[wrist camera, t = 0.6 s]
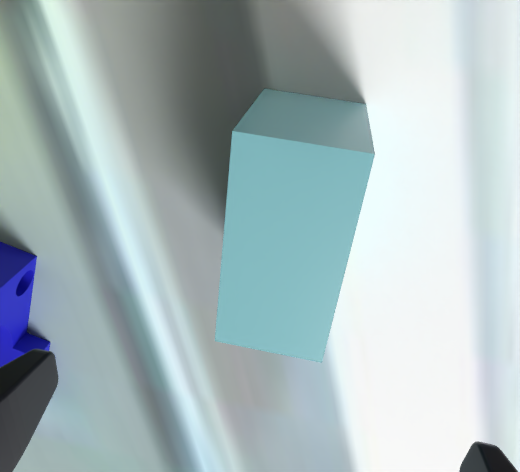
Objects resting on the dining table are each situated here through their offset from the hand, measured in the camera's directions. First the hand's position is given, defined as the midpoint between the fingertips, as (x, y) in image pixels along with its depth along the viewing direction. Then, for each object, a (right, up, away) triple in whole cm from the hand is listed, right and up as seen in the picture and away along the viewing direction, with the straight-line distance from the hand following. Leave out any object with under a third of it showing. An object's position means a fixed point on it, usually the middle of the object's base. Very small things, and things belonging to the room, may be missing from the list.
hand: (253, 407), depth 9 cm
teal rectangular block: (+2, +6, +10) cm, 12 cm away
